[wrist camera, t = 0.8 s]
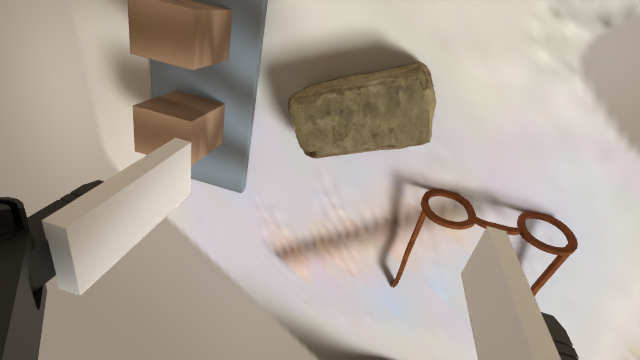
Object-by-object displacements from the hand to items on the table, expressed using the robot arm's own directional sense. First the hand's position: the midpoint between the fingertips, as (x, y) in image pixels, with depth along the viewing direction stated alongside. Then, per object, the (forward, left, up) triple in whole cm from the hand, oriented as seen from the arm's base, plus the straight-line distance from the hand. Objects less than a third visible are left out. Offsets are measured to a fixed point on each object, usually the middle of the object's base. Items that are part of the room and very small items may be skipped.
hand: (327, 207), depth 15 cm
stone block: (0, 0, -18) cm, 18 cm away
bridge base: (-1, +15, -18) cm, 23 cm away
